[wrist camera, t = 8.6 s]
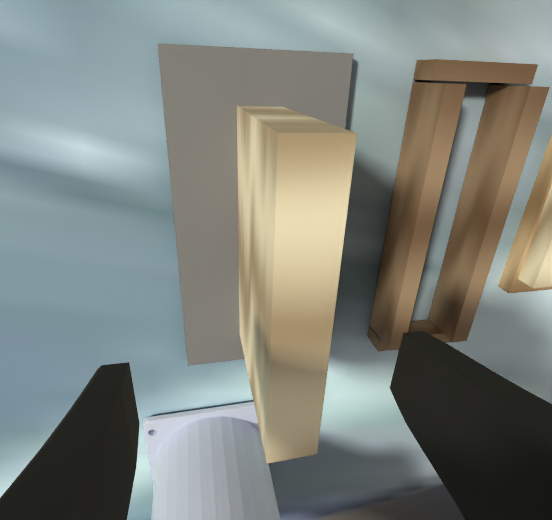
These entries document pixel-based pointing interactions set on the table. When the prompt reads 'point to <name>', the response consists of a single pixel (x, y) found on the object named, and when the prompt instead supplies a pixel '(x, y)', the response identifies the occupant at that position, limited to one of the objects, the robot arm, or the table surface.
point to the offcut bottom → (528, 228)
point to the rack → (472, 204)
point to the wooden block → (289, 266)
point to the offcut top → (540, 251)
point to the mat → (228, 165)
